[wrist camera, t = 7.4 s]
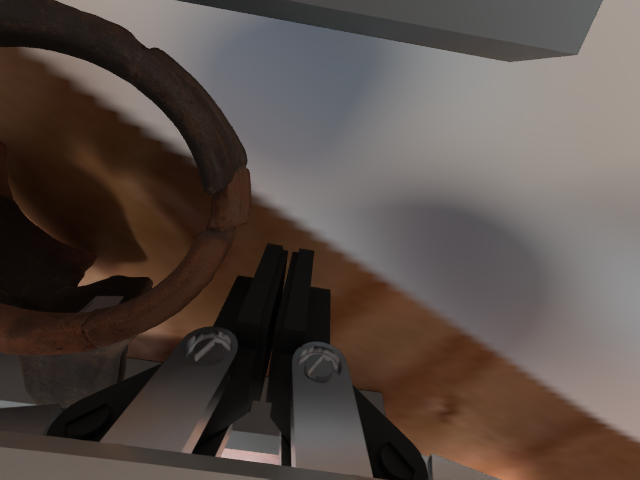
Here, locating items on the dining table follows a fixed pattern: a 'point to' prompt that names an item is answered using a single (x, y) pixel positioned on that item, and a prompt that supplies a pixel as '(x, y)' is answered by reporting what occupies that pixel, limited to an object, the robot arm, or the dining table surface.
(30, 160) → the dining table surface
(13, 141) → the dining table surface
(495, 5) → the bay
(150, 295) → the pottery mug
